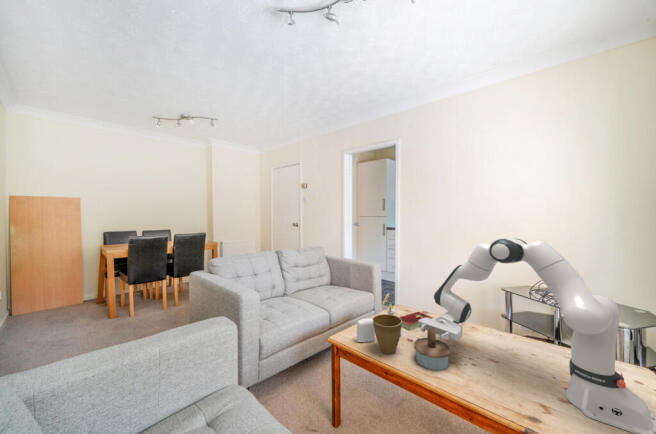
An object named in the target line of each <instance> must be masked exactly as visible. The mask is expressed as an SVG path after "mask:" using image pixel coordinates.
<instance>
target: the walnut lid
mask: <svg viewBox="0 0 656 434" xmlns="http://www.w3.org/2000/svg"><path fill="white" fill-rule="evenodd" d="M426 331H427V337H421V338H418V339H416V340H415V341H414V343H413V347H414V350H415V352H416V351H417V352H419V353H420V354H422V355H424V356H427V357H431V358H445V357H447V356H448V357H449V356H450V355H451V347H450V346H449V345H448V344H447V343H446V342H444V341H442V340H440V339H436V337H437V336H436V335H437V334H436V330H435V329H433V328H428V329H427V330H426Z"/></svg>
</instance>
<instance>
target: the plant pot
mask: <svg viewBox="0 0 656 434" xmlns="http://www.w3.org/2000/svg"><path fill="white" fill-rule="evenodd" d="M399 317H400V316H398V315H395V314H394V315H389V314H388V313H385V314H378V315H374V316H373V318H372V319H373V325H374V330H375V339H376V341H377V343H378V346H379V349H380V351H381V352H382V353H384V354H386V353H387V355H392V354H394V353H395V352H396V350H397V348H398V344H399V342H400V336H401V334H400V332H401V333H402V326H401V325H402V320H401V319H400V318H399Z"/></svg>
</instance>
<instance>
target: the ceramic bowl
mask: <svg viewBox="0 0 656 434" xmlns="http://www.w3.org/2000/svg"><path fill="white" fill-rule="evenodd" d="M415 353H416V356H415V357H416V359H415V360H416V362H417V363H418V364H419V365H420V366H422V367H424V368H425V369H427V370H432V371H443V370H446V369H447V368H448V367H449V356H447V357H445V358H431V357H427V356H424V355H422V354H420V353H419V352H417V351H416V350H415Z"/></svg>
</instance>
